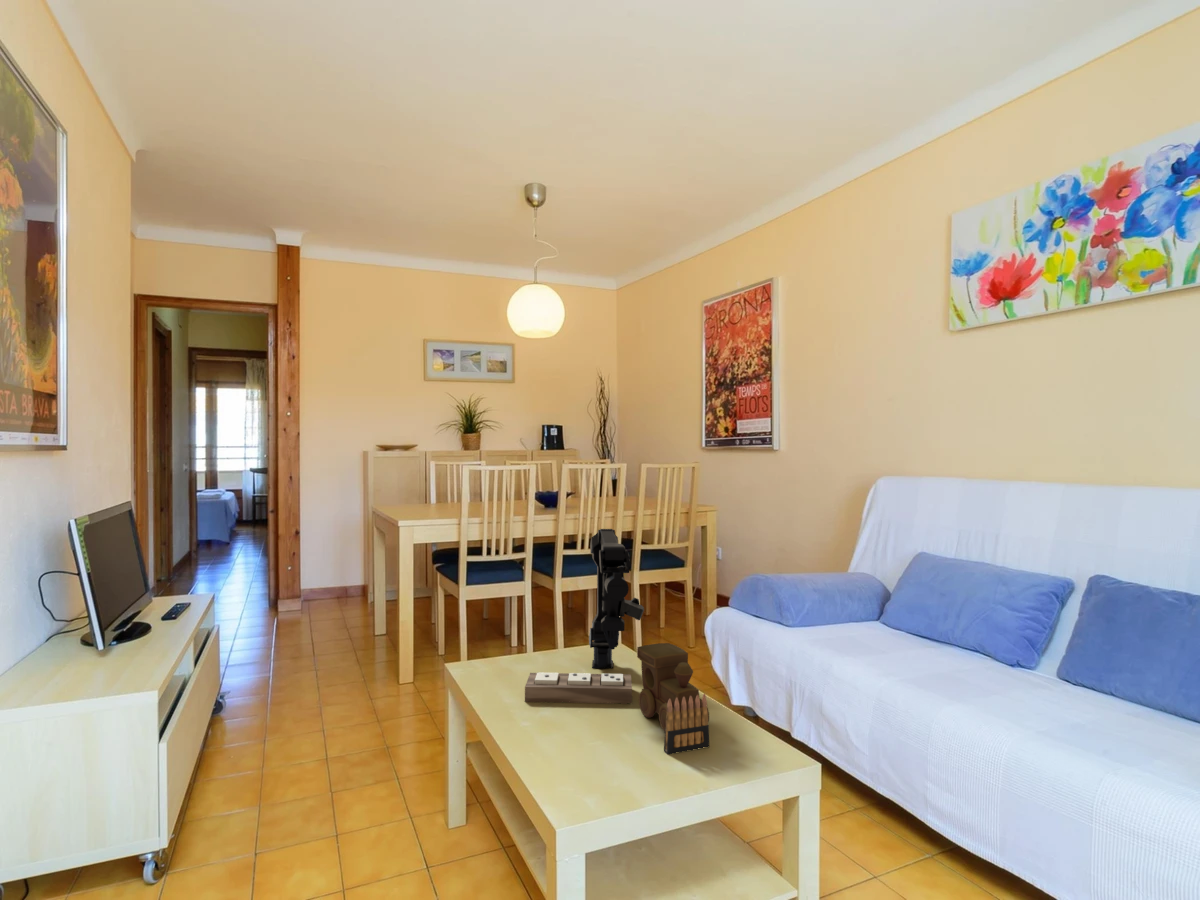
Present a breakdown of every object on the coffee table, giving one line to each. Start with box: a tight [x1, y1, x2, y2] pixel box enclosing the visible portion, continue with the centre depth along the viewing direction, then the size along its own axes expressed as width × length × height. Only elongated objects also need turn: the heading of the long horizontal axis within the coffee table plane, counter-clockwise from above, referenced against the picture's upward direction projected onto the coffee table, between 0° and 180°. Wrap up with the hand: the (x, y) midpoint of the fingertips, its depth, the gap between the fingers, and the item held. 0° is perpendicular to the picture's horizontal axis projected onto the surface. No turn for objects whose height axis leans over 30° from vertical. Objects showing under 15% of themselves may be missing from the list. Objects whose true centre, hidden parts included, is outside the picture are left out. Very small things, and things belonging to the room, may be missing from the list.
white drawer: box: [535, 671, 560, 684], centre depth 177 cm, size 6×6×3 cm
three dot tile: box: [600, 673, 623, 686], centre depth 177 cm, size 6×6×3 cm
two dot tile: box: [568, 672, 592, 685], centre depth 177 cm, size 6×6×3 cm
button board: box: [524, 672, 633, 705], centre depth 177 cm, size 11×29×4 cm, turn 89°
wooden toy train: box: [636, 642, 710, 732], centre depth 161 cm, size 20×11×17 cm, turn 24°
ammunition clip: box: [663, 693, 710, 755], centre depth 146 cm, size 11×2×12 cm, turn 110°
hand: (612, 648), depth 177 cm, fingers closed
